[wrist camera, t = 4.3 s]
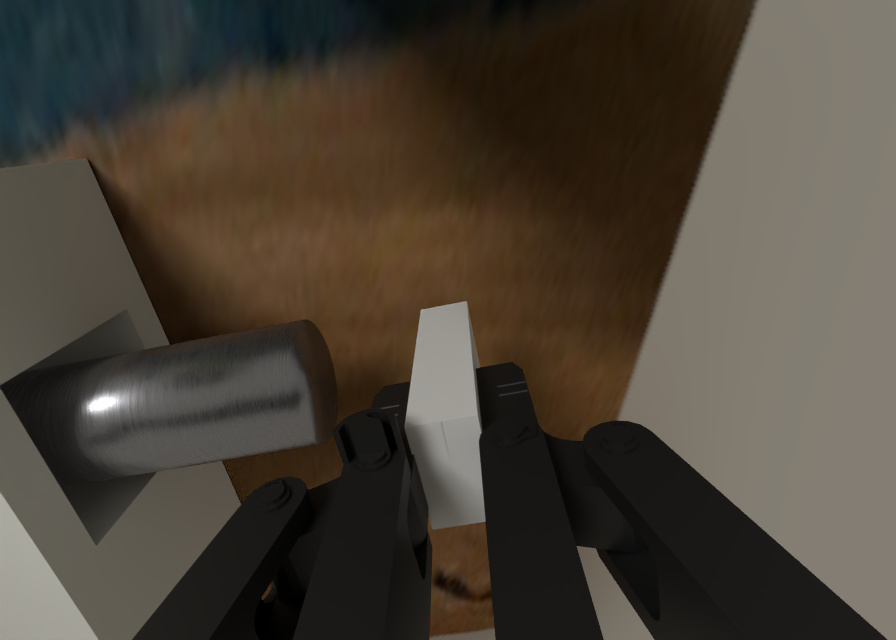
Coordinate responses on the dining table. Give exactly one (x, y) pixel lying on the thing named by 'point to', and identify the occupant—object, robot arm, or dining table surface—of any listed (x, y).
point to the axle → (180, 403)
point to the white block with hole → (19, 462)
